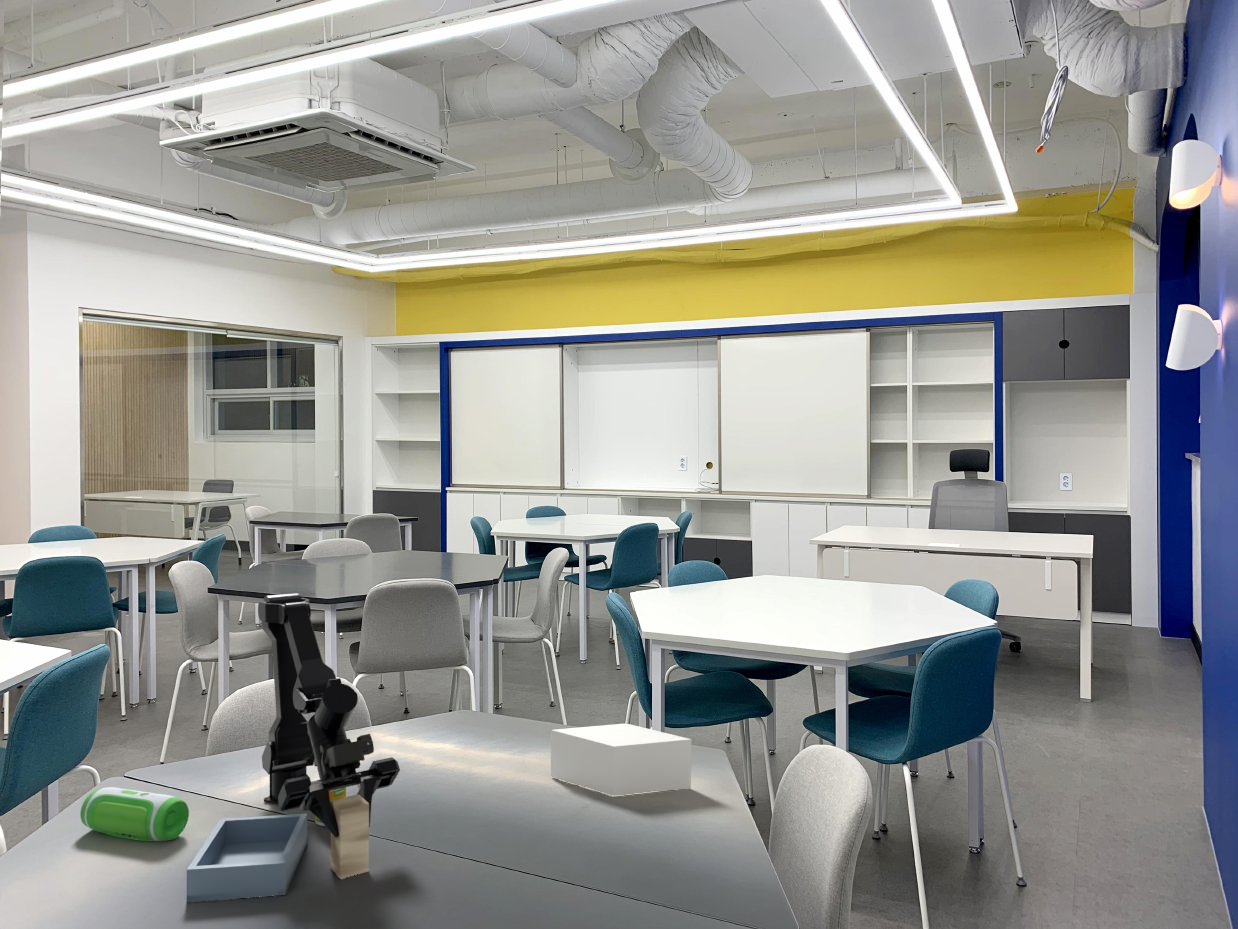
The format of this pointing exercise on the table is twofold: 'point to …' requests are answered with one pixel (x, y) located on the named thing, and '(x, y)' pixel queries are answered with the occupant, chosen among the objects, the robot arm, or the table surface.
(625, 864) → the table surface
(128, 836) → the speaker
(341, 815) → the tall ash block
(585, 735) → the white rectangular block
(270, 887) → the tote
